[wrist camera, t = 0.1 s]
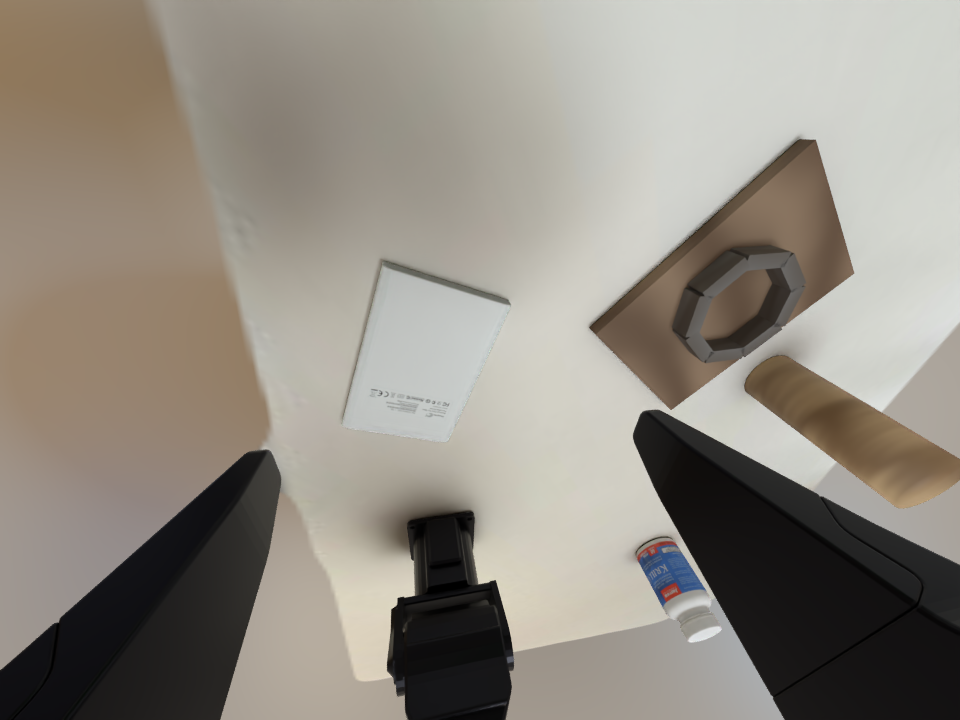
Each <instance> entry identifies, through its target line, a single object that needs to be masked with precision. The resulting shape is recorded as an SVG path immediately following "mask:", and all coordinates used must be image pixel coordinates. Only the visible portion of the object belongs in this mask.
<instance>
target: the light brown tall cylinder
mask: <svg viewBox="0 0 960 720" xmlns="http://www.w3.org/2000/svg"><path fill="white" fill-rule="evenodd" d="M745 391H746V392H747V393H748V394H749V395H751V396H752V397H753V398H755V399H756V400H757V401H759V402H760V403H761V404H762V405H764V406H765V407H766V408H768V409H769V410H770V411H772V412H773V413H774V414H775V415H777V416H778V417H779V418H781V419H782V420H783V421H785V422H786V423H787V424H788V425H790V426H791V427H792V428H794V429H795V430H796V431H798V432H799V433H800V434H802V435H803V436H804V437H805V438H807V439H808V440H809V441H811V442H812V443H813V444H815V445H816V446H817V447H818V448H820V449H821V450H822V451H824V452H825V453H826V454H828V455H829V456H830V457H831V458H833V459H834V460H835V461H837V462H838V463H839V464H841V465H842V466H843V467H845V468H846V469H847V470H848V471H850V472H851V473H853V474H854V475H855V476H856V477H858V478H859V479H860V480H862V481H863V482H864V483H865V484H867V485H868V486H869V487H871V488H872V489H873V490H875V491H876V492H877V493H878V494H880V495H881V496H882V497H884V498H885V499H886V500H888V501H889V502H890V503H891V504H893V505H894V506H895V507H897V508H908V507H912V506H915V505H918V504H921V503H923V502H926V501H927V500H930V499H932V498H934V497H935V496H937V495H939V494H941V493H942V492H944V491H946V490H947V489H949V488H950V487H952V486H953V485H954V484H955V483H957V482H958V481H959V480H960V459H959V458H957V457H955V456H954V455H952V454H950V453H949V452H947V451H945V450H944V449H942V448H940V447H939V446H937V445H935V444H934V443H932V442H930V441H928V440H927V439H925V438H923V437H922V436H920V435H918V434H917V433H915V432H913V431H912V430H910V429H908V428H907V427H905V426H903V425H901V424H900V423H898V422H897V421H895V420H893V419H891V418H890V417H888V416H886V415H885V414H883V413H881V412H880V411H878V410H876V409H875V408H873V407H871V406H870V405H868V404H866V403H865V402H863V401H861V400H859V399H858V398H856V397H854V396H853V395H851V394H849V393H848V392H846V391H844V390H843V389H841V388H839V387H838V386H836V385H834V384H833V383H831V382H829V381H827V380H826V379H824V378H822V377H821V376H819V375H817V374H816V373H814V372H812V371H811V370H809V369H807V368H806V367H804V366H802V365H801V364H799V363H797V362H795V361H794V360H792V359H790V358H789V357H787V356H775V357H772V358H770V359H768V360H766V361H764V362H762V363H761V364H760V365H758V366H757V367H756V368H755V369H754V370H753V371H752V372H751V373H750V375H749V376H748V378H747V380H746V382H745Z"/></svg>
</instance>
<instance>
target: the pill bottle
mask: <svg viewBox="0 0 960 720" xmlns="http://www.w3.org/2000/svg"><path fill="white" fill-rule="evenodd" d="M636 556H637V559H638V562H639V563H640V565H641V567H642V569H643V571H644V573H645V575H646V576H647V578H648V580H649V582H650V584H651V586H652V588H653V590H654V592H655V593H656V595H657V597H658V599H659V601H660V603H661V605H662V607H663V609H664V610H665V612H666V614H667V615H668V617H670V618H671V619H673V620H676V621H679V622H680V623H681V625H680V628H681V630H682V632H683V633H684V635H685V637H686V639H687V641H688V642H698V641H702V640H705V639H707V638H710V637H712V636H714V635H716V634H717V633H718V632H720V631H721V629H722V627H721V626H720V624H719V622H718V621H717V619H716V617H715V616H714V614H713V613H711V612H710V611H709V610H708V609H709V607H710V605H711V598H710V596H709V595H708V593H707V591H706V590H705V588H704V587H703V585H702V583H701V582H700V580H699V579H698V577H697V576H696V574H695V572H694V571H693V569H692V568H691V566H690V565H689V563H688V562H687V560H686V558H685V557H684V555H683V554H682V552H681V551H680V549H679V548H678V546H677V545H676V543H675V542H674V541H673V540H672V539H670V538H658V539H655V540H652V541H650V542H648V543H646V544H645V545H643V546H642V547H641V548H640V549H639V550H638V552H637V554H636Z"/></svg>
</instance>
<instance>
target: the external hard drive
mask: <svg viewBox="0 0 960 720" xmlns="http://www.w3.org/2000/svg"><path fill="white" fill-rule="evenodd" d="M510 307H511V304H510V302H509V301H508V300H506V299H503V298H500V297H497V296H494V295H490V294H487V293H484V292H481V291H477V290H474V289H471V288H468V287H465V286H461V285H458V284H455V283H452V282H449V281H446V280H442V279H439V278H436V277H433V276H430V275H426V274H423V273H420V272H417V271H414V270H410V269H407V268H404V267H401V266H398V265H395V264H392V263H388V262H385V261H383V262H382V267H381V271H380V275H379V278H378V282H377V286H376V290H375V294H374V298H373V302H372V306H371V310H370V314H369V318H368V322H367V326H366V330H365V333H364V337H363V341H362V345H361V349H360V353H359V357H358V361H357V365H356V369H355V372H354V376H353V380H352V384H351V388H350V392H349V396H348V400H347V404H346V408H345V412H344V416H343V420H342V424H341V425H342V427H345V428H347V429H353V430H360V431H367V432H374V433H381V434H388V435H395V436H402V437H408V438H415V439H421V440H428V441H435V442H448V440H449V438H450V436H451V434H452V432H453V429H454V427H455V425H456V423H457V421H458V419H459V417H460V415H461V413H462V411H463V408H464V406H465V404H466V402H467V400H468V398H469V396H470V393H471V391H472V389H473V387H474V385H475V383H476V380H477V378H478V376H479V374H480V372H481V370H482V368H483V366H484V363H485V361H486V359H487V357H488V355H489V353H490V351H491V349H492V346H493V344H494V342H495V340H496V338H497V335H498V333H499V331H500V329H501V326H502V324H503V322H504V320H505V318H506V316H507V314H508V312H509V309H510Z"/></svg>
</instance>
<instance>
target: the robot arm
mask: <svg viewBox="0 0 960 720" xmlns="http://www.w3.org/2000/svg"><path fill="white" fill-rule="evenodd" d="M633 440H634V443H635V445H636V448H637V450H638V452H639V454H640V457H641V459H642V461H643V463H644V466H645V468H646V470H647V472H648V475H649V477H650V479H651V481H652V484H653V486H654V488H655V490H656V492H657V494H658V496H659V498H660V500H661V502H662V504H663V505H664V507H665V509H666V511H667V512H668V514H669V516H670V518H671V520H672V521H673V523H674V525H675V527H676V528H677V530H678V532H679V534H680V535H681V537H682V539H683V541H684V542H685V544H686V546H687V548H688V550H689V551H690V553H691V555H692V557H693V558H694V560H695V562H696V564H697V565H698V567H699V569H700V571H701V572H702V574H703V576H704V578H705V580H706V581H707V583H708V585H709V587H710V588H711V590H712V592H713V594H714V595H715V597H716V599H717V601H718V602H719V604H720V606H721V608H722V610H723V611H724V613H725V615H726V617H727V618H728V620H729V622H730V624H731V625H732V627H733V629H734V631H735V632H736V634H737V636H738V638H739V639H740V641H741V643H742V645H743V646H744V648H745V650H746V652H747V654H748V655H749V657H750V659H751V660H752V662H753V664H754V666H755V668H756V670H757V671H758V673H759V675H760V677H761V678H762V680H763V682H764V683H765V685H766V687H767V689H768V691H769V692H770V694H771V695H772V696H773V700H774V702H775V704H776V705H777V707H778V709H779V711H780V712H781V714H782V716H783V718H784V719H785V720H960V565H959V564H957V563H955V562H953V561H951V560H949V559H947V558H944V557H942V556H940V555H938V554H936V553H934V552H932V551H930V550H928V549H926V548H924V547H921V546H919V545H917V544H915V543H913V542H911V541H909V540H907V539H905V538H903V537H900V536H899V535H897V534H895V533H893V532H890V531H888V530H886V529H884V528H882V527H880V526H878V525H876V524H874V523H872V522H870V521H868V520H866V519H864V518H863V517H861V516H859V515H857V514H855V513H853V512H851V511H849V510H847V509H845V508H843V507H841V506H839V505H837V504H836V503H834V502H832V501H830V500H828V499H826V498H824V497H820V496H819V495H818V494H817V493H815V492H813V491H811V490H809V489H807V488H805V487H804V486H802V485H800V484H798V483H796V482H794V481H792V480H790V479H789V478H787V477H785V476H783V475H781V474H779V473H777V472H775V471H773V470H772V469H770V468H768V467H766V466H764V465H762V464H760V463H758V462H756V461H755V460H753V459H751V458H749V457H747V456H745V455H743V454H741V453H740V452H738V451H736V450H734V449H732V448H730V447H728V446H726V445H724V444H723V443H721V442H719V441H717V440H715V439H713V438H711V437H709V436H708V435H706V434H704V433H702V432H700V431H698V430H696V429H694V428H692V427H691V426H689V425H687V424H685V423H683V422H681V421H679V420H677V419H675V418H674V417H672V416H670V415H668V414H666V413H664V412H662V411H660V410H647V411H643V412H642V413H641V414H640V417H639V419H638V422H637V425H636V427H635V430H634V433H633ZM280 487H281V474H280V472H279V469H278V467H277V464H276V462H275V459H274V457H273V454H272V453H271V451H269V450H257V451H250V452H247V453H246V454H244V455H243V456H242V457H241V458H240V459H239V460H238V461H237V462H235V463H234V464H233V465H232V466H231V467H230V468H229V469H228V470H226V471H225V472H224V473H223V474H222V475H221V476H220V477H219V478H217V479H216V480H215V481H214V482H213V483H212V484H211V485H209V486H208V487H207V488H206V489H205V490H204V491H203V492H202V493H200V494H199V495H198V496H197V497H196V498H195V499H194V500H193V501H192V502H190V503H189V504H188V505H187V506H186V507H185V508H184V509H183V510H181V511H180V512H179V513H178V514H177V515H176V516H175V517H173V518H172V519H171V520H170V521H169V522H168V523H167V524H166V525H165V526H163V527H162V528H161V529H160V530H159V531H158V532H157V533H155V534H154V535H153V536H152V537H151V538H150V539H149V540H148V541H146V542H145V543H144V544H143V545H142V546H141V547H140V548H139V549H137V550H136V551H135V552H134V553H133V554H132V555H131V556H129V558H127V559H126V560H125V561H124V562H123V563H122V564H120V565H119V566H118V567H117V568H116V569H115V570H114V571H113V572H112V573H110V574H109V575H108V576H107V577H106V578H105V579H104V580H102V582H100V583H99V584H98V585H97V586H96V587H95V588H93V589H92V590H91V591H90V592H89V593H88V594H87V595H86V596H84V597H83V598H82V599H81V600H80V601H79V602H78V603H77V604H75V605H74V606H73V607H72V608H71V609H70V610H69V611H68V612H66V613H65V614H64V615H63V616H62V617H61V618H60V620H59V623H54V624H53V625H52V626H50V627H49V628H48V629H47V630H46V631H45V632H44V633H43V634H41V635H40V636H39V637H38V638H37V639H36V640H35V641H33V642H32V643H31V644H30V645H29V646H28V647H27V648H26V649H24V650H23V651H22V652H21V653H20V654H19V655H17V656H16V657H15V658H14V659H13V660H12V661H11V662H10V663H8V664H7V665H6V666H5V667H4V668H3V669H1V670H0V720H220V719H221V715H222V711H223V708H224V705H225V701H226V698H227V695H228V691H229V688H230V684H231V681H232V678H233V674H234V671H235V667H236V664H237V660H238V657H239V653H240V650H241V647H242V643H243V640H244V636H245V633H246V629H247V626H248V623H249V620H250V616H251V613H252V609H253V606H254V602H255V599H256V596H257V592H258V589H259V585H260V582H261V579H262V575H263V571H264V568H265V565H266V561H267V557H268V554H269V549H270V544H271V538H272V533H273V527H274V521H275V515H276V510H277V504H278V498H279V493H280ZM474 520H475V518H474V513H472V512H468V513H461V514H454V515H447V516H440V517H433V518H427V519H420V520H413V521H409V522H408V523H407V530H408V537H409V545H410V552H411V559H412V560H413V561H414V580H415V596H412V597H406V598H404V597H399V598H398V602H397V606H396V607H394V608H393V609H391V634H390V643H389V651H388V660H387V671H388V673H389V674H390V675H391V676H392V677H393V678H394V684H396V692H397V696H398V697H399V696H403V695H405V712H406V716H407V720H506V716H507V710H508V705H509V700H510V695H511V688H512V685H511V679H510V673H509V671H512V670H513V669H514V658H513V648H512V642H511V636H510V631H509V627H508V623H507V619H506V615H505V612H504V608H503V605H502V601H501V597H500V594H499V590H498V587H497V583H496V580H494V581H490V582H489V583H484V584H478V579H477V573H476V567H475V561H474V555H473V541H474Z"/></svg>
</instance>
